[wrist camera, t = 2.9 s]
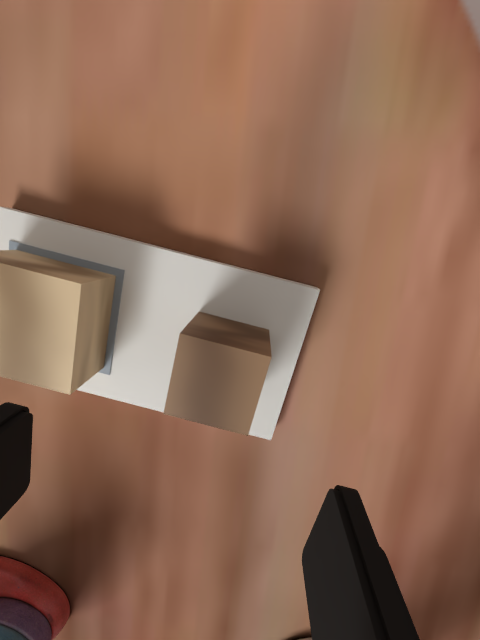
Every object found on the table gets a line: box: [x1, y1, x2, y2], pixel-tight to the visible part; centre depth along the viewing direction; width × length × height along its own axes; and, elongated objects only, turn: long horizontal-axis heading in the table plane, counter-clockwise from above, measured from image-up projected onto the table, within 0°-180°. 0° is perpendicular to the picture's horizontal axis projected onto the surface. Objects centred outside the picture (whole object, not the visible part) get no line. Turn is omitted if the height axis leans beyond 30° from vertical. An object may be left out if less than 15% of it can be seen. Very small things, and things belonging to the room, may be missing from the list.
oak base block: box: [0, 250, 116, 394], centre depth 19 cm, size 7×7×4 cm
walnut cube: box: [163, 312, 272, 436], centre depth 19 cm, size 5×5×5 cm
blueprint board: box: [0, 207, 320, 440], centre depth 22 cm, size 22×12×1 cm, turn 76°
